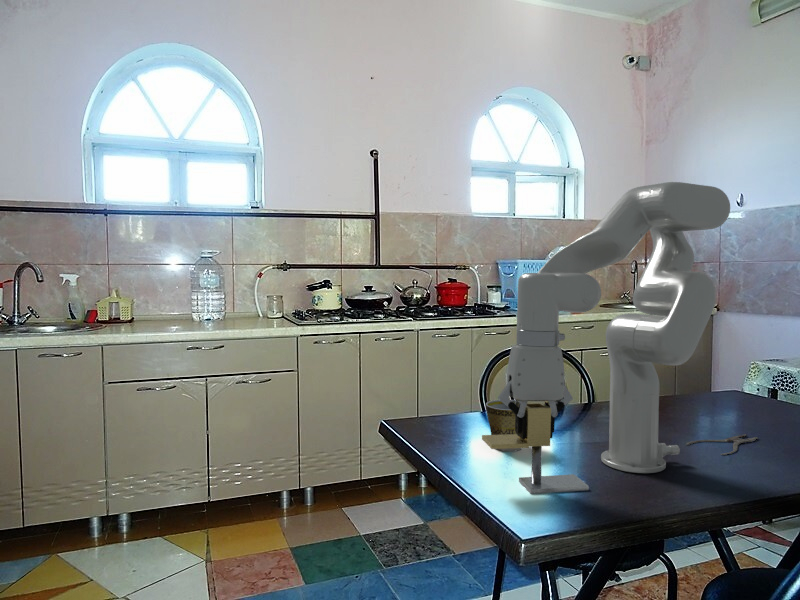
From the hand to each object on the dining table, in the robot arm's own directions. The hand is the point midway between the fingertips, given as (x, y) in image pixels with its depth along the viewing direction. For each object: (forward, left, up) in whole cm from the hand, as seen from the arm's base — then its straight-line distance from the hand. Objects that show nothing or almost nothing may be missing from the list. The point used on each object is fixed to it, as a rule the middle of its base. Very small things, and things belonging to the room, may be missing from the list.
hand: (534, 435), depth 105 cm
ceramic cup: (-4, -25, -10) cm, 27 cm away
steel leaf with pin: (-4, 0, -10) cm, 11 cm away
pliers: (-54, -19, -10) cm, 58 cm away
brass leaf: (+4, 0, -1) cm, 4 cm away
